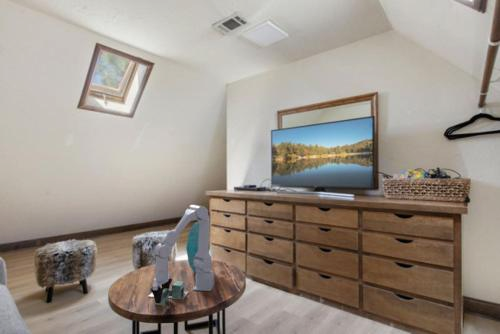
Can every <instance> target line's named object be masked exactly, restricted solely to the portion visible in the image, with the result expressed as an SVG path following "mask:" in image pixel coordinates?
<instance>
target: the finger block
mask: <svg viewBox="0 0 500 334" xmlns="http://www.w3.org/2000/svg"><path fill="white" fill-rule="evenodd" d="M169 289H170V288H169ZM169 289H168V288H164V290H163V292H162V297H161V303H156V302H155V301H154V305H155V306H165V305H166V302H169V299H170V298H169Z"/></svg>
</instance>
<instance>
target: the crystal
mask: <svg viewBox="0 0 500 334" xmlns="http://www.w3.org/2000/svg"><path fill="white" fill-rule="evenodd" d="M198 240H199V221H197V222H194V223H193V224H192V227H191V228H190V230H189V231H188V235H187V241H186V246H185V247H186V248H185V249H186V254H187V259H188V260H187V262H188V265H189V267H190V268H191V269H192V271H193V272H194V273H196V270H195V267H194V265H193V261H194V259H195V254H196V253H197V252H198ZM210 246H211V245H210V244H209V247H208V253H209V254H210Z"/></svg>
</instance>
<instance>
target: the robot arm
mask: <svg viewBox="0 0 500 334" xmlns="http://www.w3.org/2000/svg"><path fill="white" fill-rule="evenodd" d="M192 221H197V222H199V240H198V252H197V253H196V254H195V259H194V261H193V265H194V267H195V270H196V272H195V286H194V287H193V288H192V291H203V292H204V291H205V292H210V291H212V290H213V288H214V286H215V271H214V270H212V268H213V262H212V256H211V255H210V252H209V253H208V247H209V245H210V228H211V227H210V224H211V218H210V216H209V209H208V208H207V207H206V206H204V205H197V204H190V205H189V206H188V207H187V209H185V212H184V214H183V216H182V217H181V219H180V220H179V221H178V223H177V225H175V227H174V229H171V230H169V231H167V233H166V235H165V236H164V238H163V239H162V240H161V241H160V242H159V243H158V244H156V245H155V247H154V249H153V254H154V256H155V277H154V278H152V281H153V282H154V283H153V285H152V287H151V288H150V292H151V293H153V295H154V303H155V302H156V303H161V297H162V292H163V290H164V288H168V289H170V287H171V285H172V284H171V283H172V282H173V279H172V278H171V273H169V259H170V258H169V256H170V255H171V254H172V249H173V247H174V246H175V245H176V243H177V242H178V240H180V237H181V234H180V233H182V231H183V230H184V229H185V228H186V226H188V225H189V223H190V222H192Z"/></svg>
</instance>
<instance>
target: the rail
mask: <svg viewBox="0 0 500 334" xmlns="http://www.w3.org/2000/svg"><path fill="white" fill-rule="evenodd" d="M189 292H190V291H188V290H187V291H185V281H183V280H176V281H174V283H172V284H171V288H169V299H175V300H184V299H186V297H187V296H188V295H189ZM147 298H154V295H153V293H152V292H151V293H150V294H149V295H148V296H147ZM154 299H155V298H154Z"/></svg>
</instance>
